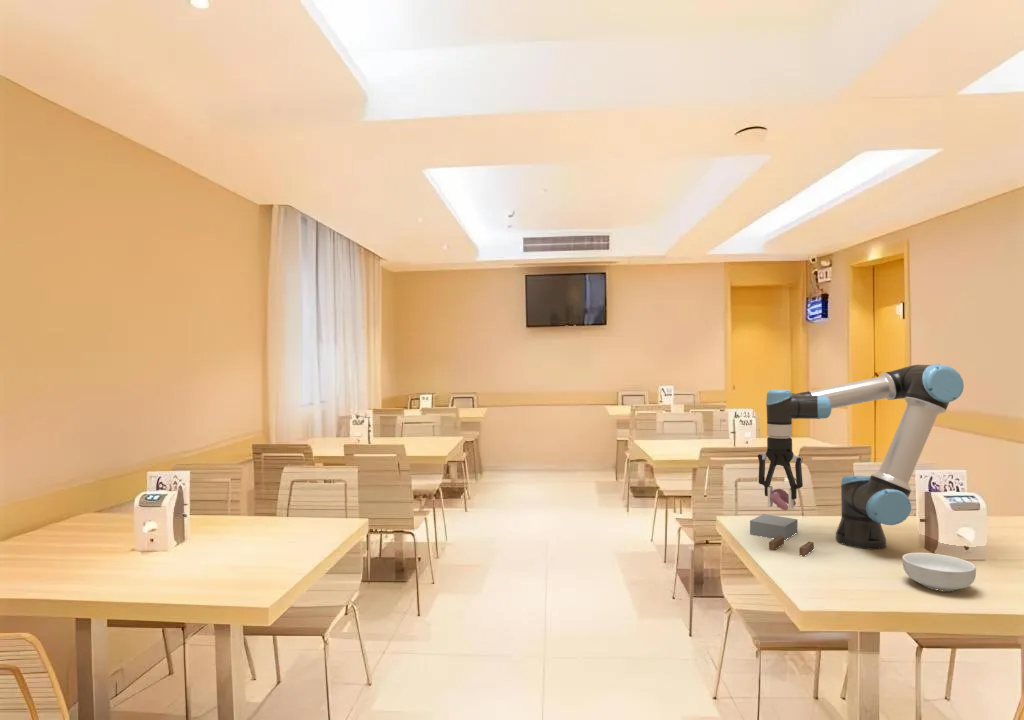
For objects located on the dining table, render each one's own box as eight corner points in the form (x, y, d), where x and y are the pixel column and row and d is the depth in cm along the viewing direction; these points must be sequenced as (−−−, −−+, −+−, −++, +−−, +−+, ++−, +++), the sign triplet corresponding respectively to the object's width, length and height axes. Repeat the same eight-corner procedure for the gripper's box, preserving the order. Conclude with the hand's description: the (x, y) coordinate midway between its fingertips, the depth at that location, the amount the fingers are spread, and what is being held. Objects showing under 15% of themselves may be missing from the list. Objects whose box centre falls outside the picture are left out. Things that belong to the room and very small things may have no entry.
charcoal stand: (797, 533, 222) (797, 519, 222) (784, 541, 211) (784, 526, 211) (763, 527, 230) (763, 513, 230) (749, 534, 219) (750, 520, 219)
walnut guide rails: (813, 549, 201) (813, 542, 201) (804, 556, 194) (804, 548, 194) (779, 543, 209) (779, 535, 209) (769, 549, 201) (769, 541, 201)
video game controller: (784, 508, 205) (775, 489, 207) (797, 504, 202) (787, 484, 205) (775, 514, 197) (765, 493, 200) (788, 509, 195) (778, 488, 197)
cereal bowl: (906, 572, 180) (906, 548, 180) (977, 585, 169) (977, 559, 169) (898, 588, 167) (898, 562, 167) (974, 603, 156) (974, 575, 156)
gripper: (813, 437, 196) (814, 509, 196) (754, 434, 208) (755, 501, 208) (807, 439, 190) (808, 514, 190) (746, 436, 203) (747, 505, 202)
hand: (780, 507), depth 199 cm, fingers closed on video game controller, 6 cm apart
